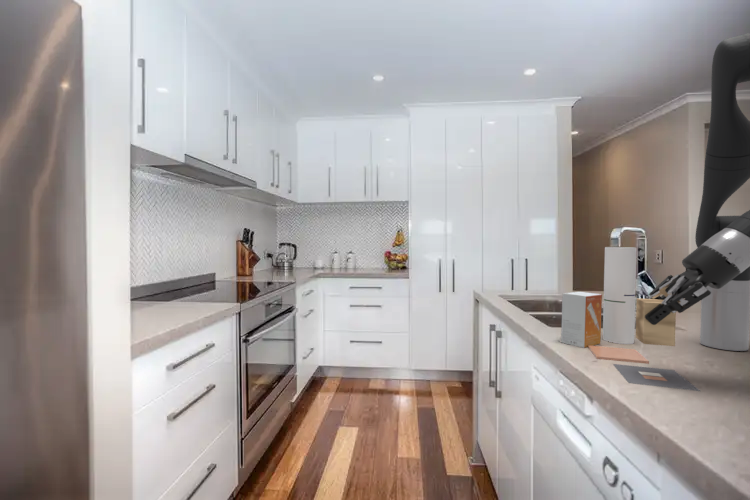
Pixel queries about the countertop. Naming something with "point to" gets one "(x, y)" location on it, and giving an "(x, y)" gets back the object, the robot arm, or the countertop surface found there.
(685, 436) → the countertop surface
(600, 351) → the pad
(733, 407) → the countertop surface
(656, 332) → the maple block
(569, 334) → the small box
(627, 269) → the cylindrical container
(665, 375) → the mat
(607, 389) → the countertop surface
